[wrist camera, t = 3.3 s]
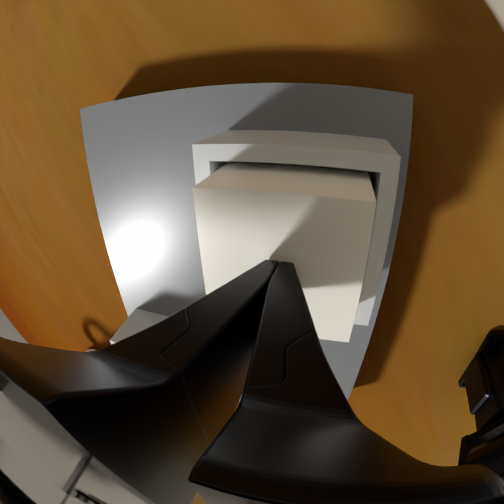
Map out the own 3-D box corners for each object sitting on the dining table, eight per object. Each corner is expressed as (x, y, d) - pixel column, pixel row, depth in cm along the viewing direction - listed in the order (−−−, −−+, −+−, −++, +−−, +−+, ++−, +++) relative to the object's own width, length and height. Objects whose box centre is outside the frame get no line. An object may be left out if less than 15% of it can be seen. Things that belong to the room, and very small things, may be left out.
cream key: (367, 172, 10) (376, 202, 7) (350, 290, 12) (348, 342, 10) (228, 162, 11) (192, 187, 8) (235, 275, 13) (210, 320, 11)
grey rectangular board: (400, 94, 12) (438, 96, 7) (343, 390, 24) (334, 455, 18) (111, 102, 16) (33, 121, 11) (166, 355, 28) (135, 405, 23)
